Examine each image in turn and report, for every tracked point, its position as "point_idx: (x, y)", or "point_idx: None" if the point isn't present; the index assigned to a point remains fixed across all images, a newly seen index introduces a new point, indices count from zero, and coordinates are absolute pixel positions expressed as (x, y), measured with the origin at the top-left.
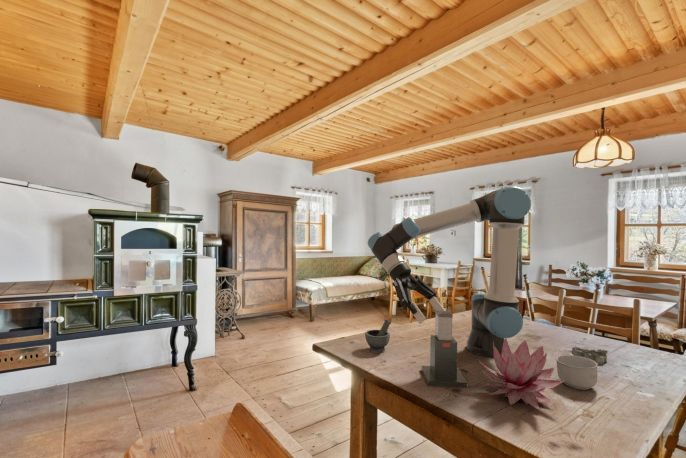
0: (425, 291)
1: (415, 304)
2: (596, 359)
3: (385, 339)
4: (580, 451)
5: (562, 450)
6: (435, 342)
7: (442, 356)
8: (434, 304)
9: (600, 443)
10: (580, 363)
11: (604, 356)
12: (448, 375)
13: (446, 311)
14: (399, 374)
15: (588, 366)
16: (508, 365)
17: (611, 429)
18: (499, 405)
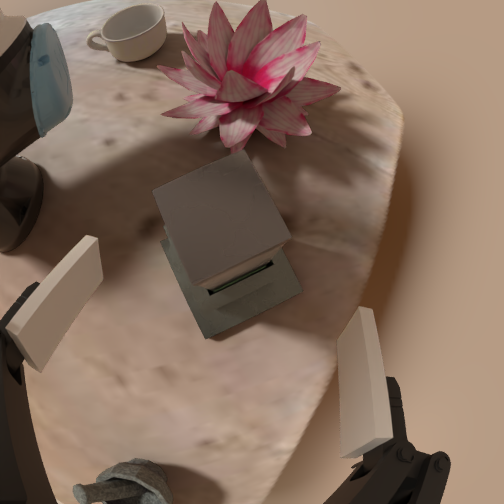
0: (13, 423)
1: (379, 414)
2: None
3: (143, 474)
4: (360, 65)
5: (373, 80)
6: (291, 269)
7: None
8: (56, 322)
9: (325, 45)
10: (112, 28)
11: None
12: None
13: (172, 203)
14: (272, 381)
15: (121, 21)
16: (306, 69)
17: None
18: (302, 136)
